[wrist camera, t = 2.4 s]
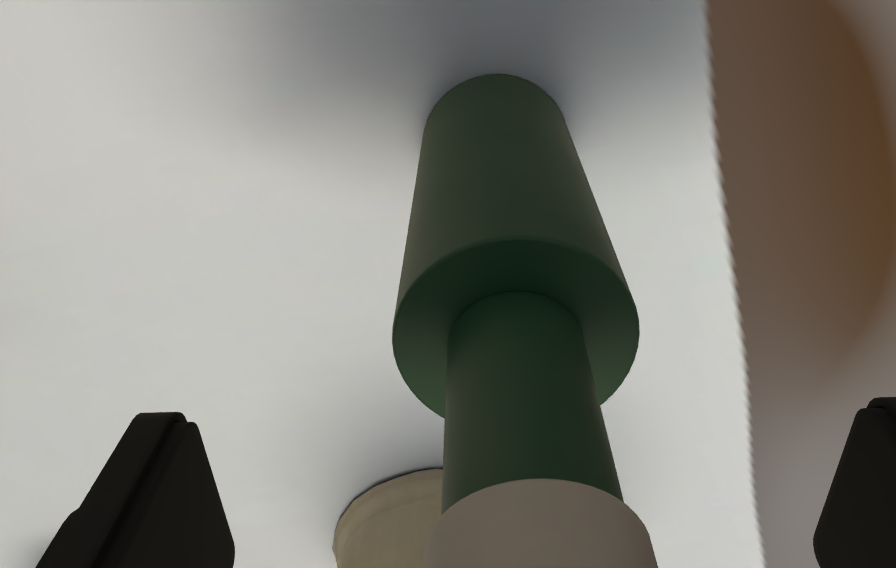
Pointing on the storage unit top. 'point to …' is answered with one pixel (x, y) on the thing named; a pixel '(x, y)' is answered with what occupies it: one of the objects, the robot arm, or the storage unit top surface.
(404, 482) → the lamp
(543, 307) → the bottle
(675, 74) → the storage unit top surface
